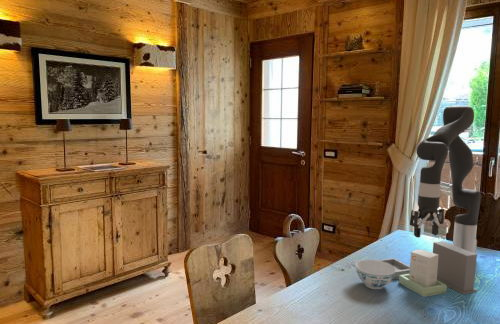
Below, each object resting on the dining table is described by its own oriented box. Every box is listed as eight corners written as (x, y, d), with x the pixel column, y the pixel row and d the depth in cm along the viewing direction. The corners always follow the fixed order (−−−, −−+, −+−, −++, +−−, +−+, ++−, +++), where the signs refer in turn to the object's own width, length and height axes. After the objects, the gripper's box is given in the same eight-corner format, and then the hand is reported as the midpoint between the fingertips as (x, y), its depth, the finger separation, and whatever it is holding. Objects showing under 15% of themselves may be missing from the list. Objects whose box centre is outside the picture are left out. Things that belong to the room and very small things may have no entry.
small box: (436, 286, 150) (439, 254, 148) (427, 291, 146) (430, 257, 144) (416, 279, 156) (419, 248, 154) (408, 283, 152) (410, 251, 151)
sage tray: (420, 278, 159) (420, 271, 158) (446, 292, 147) (446, 285, 146) (398, 282, 155) (399, 275, 155) (423, 296, 143) (424, 289, 142)
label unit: (440, 274, 164) (443, 240, 162) (476, 291, 148) (480, 254, 146) (427, 276, 161) (430, 242, 160) (462, 294, 146) (466, 256, 144)
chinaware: (396, 282, 155) (397, 263, 154) (392, 297, 142) (394, 277, 141) (357, 275, 161) (358, 257, 160) (351, 289, 148) (352, 270, 147)
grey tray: (393, 264, 174) (393, 258, 173) (414, 275, 161) (415, 269, 161) (373, 267, 170) (373, 260, 169) (393, 279, 158) (394, 272, 157)
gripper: (435, 191, 152) (432, 231, 154) (406, 193, 147) (404, 234, 149) (451, 195, 145) (448, 237, 147) (421, 197, 140) (418, 240, 142)
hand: (425, 235), depth 148 cm, fingers open, 8 cm apart
